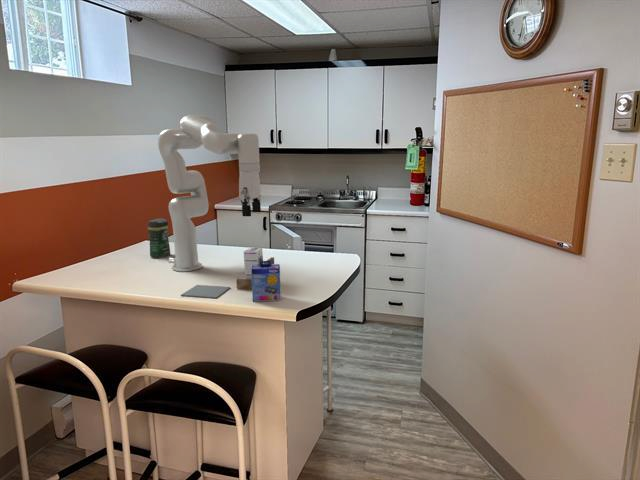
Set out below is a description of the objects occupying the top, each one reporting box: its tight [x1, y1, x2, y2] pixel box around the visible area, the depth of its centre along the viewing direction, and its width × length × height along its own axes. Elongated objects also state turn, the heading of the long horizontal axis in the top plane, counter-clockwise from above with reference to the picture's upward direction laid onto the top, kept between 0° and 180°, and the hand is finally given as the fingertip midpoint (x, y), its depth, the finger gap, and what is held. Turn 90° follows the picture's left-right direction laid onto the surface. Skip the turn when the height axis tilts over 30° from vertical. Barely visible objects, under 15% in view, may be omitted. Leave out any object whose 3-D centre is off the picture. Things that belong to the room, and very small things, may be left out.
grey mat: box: [180, 284, 231, 300], centre depth 175 cm, size 14×12×1 cm
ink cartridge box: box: [251, 260, 282, 303], centre depth 164 cm, size 10×6×14 cm, turn 95°
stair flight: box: [236, 256, 275, 291], centre depth 180 cm, size 11×11×10 cm
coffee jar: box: [147, 217, 171, 259], centre depth 228 cm, size 10×8×19 cm
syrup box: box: [243, 247, 264, 279], centre depth 180 cm, size 6×6×14 cm
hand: (251, 214), depth 176 cm, fingers open, 9 cm apart
